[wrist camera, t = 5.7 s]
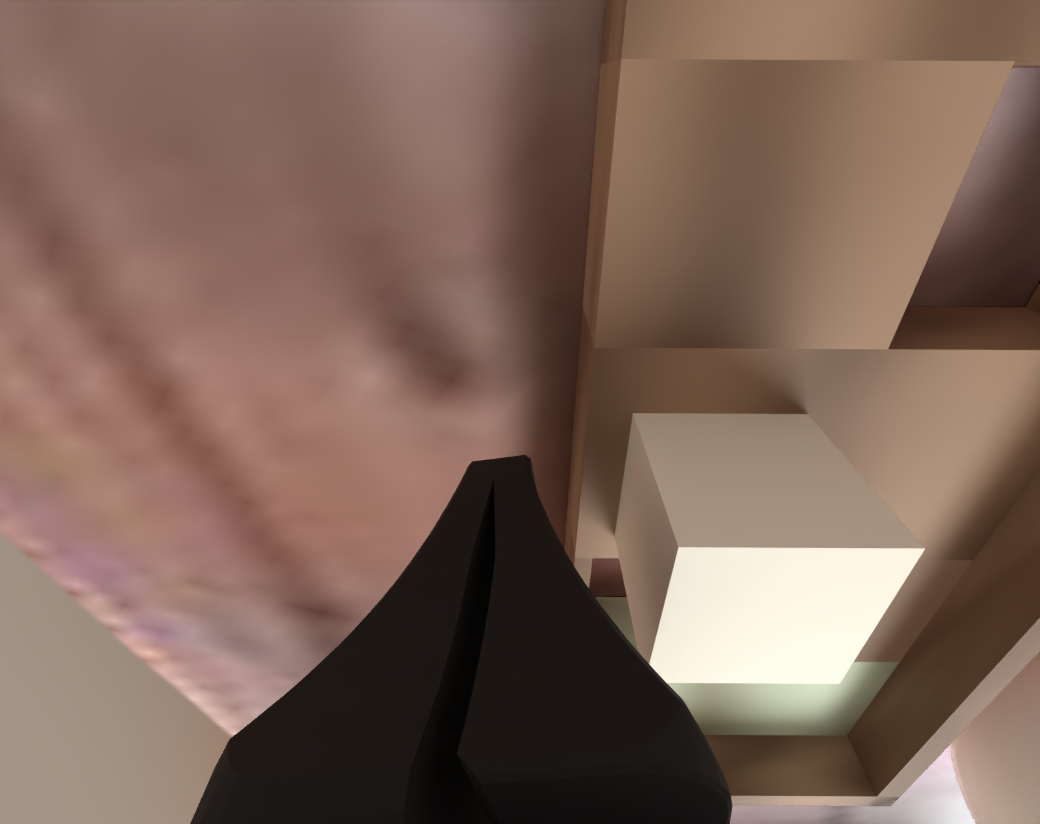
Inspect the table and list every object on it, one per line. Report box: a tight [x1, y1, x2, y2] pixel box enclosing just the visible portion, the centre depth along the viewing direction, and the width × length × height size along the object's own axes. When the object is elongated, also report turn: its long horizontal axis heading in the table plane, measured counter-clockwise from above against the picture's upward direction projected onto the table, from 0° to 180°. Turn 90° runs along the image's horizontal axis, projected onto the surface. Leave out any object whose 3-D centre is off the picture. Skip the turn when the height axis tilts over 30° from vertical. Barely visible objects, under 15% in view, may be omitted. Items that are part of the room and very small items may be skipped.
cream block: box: [615, 413, 925, 684], centre depth 11 cm, size 4×4×4 cm
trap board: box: [564, 0, 1040, 806], centre depth 14 cm, size 12×24×4 cm, turn 0°
